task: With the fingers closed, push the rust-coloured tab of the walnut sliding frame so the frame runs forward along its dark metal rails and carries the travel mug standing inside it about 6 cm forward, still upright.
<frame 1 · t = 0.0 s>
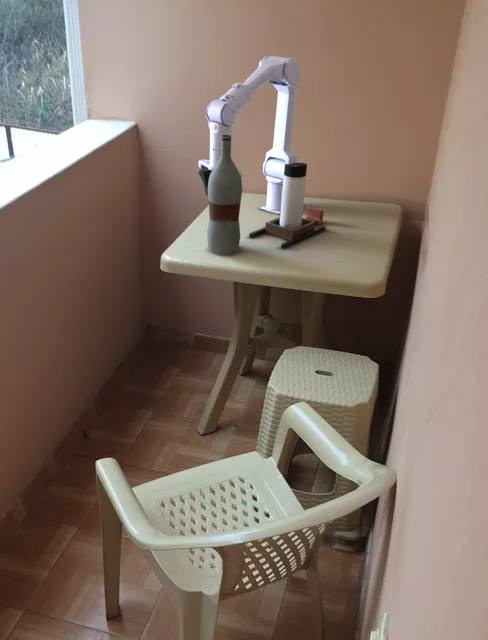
hand: (219, 197, 187), 10 cm above the table, tool pointing down, fingers open, 7 cm apart
bottle: (223, 250, 182), on the table
rails: (287, 233, 191), on the table
travel mug: (290, 233, 192), resting in carrier
carrier: (298, 222, 193), point 2 cm above the table, slide at 0.0 cm
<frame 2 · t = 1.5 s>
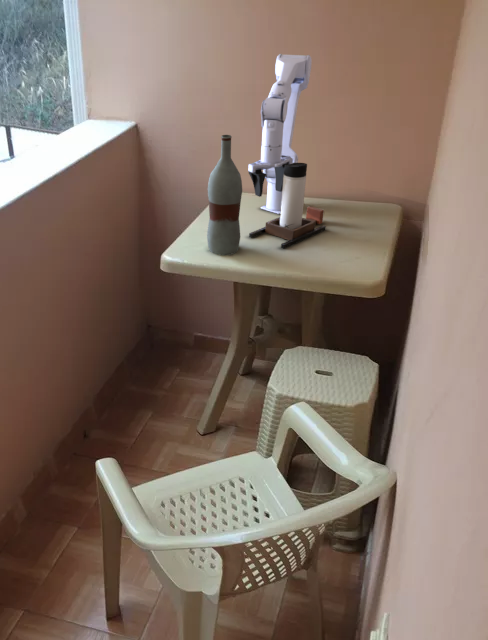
hand: (268, 193, 191), 10 cm above the table, tool pointing down, fingers open, 7 cm apart
nothing on the table moved.
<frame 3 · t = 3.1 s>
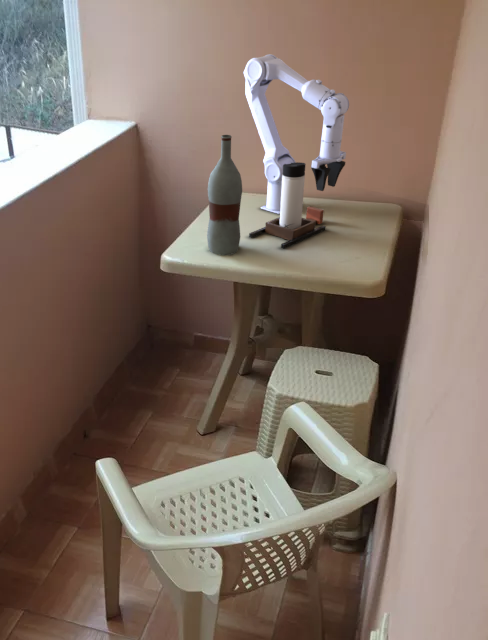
hand: (325, 188, 196), 9 cm above the table, tool pointing down, fingers open, 5 cm apart
nothing on the table moved.
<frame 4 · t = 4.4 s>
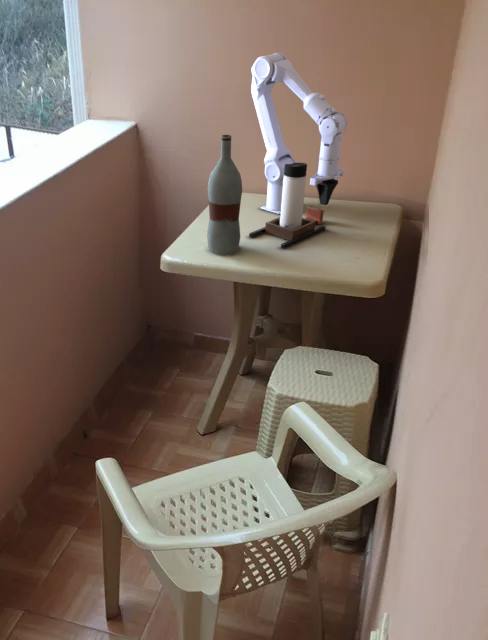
hand: (323, 204, 199), 4 cm above the table, tool pointing down, fingers closed
nothing on the table moved.
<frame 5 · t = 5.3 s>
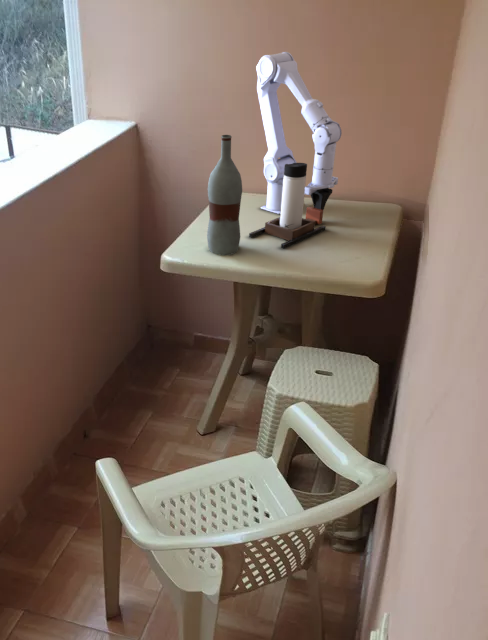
hand: (318, 213, 199), 2 cm above the table, tool pointing down, fingers closed
carrier: (297, 222, 193), point 2 cm above the table, slide at 0.2 cm, touching gripper
everything else where it was.
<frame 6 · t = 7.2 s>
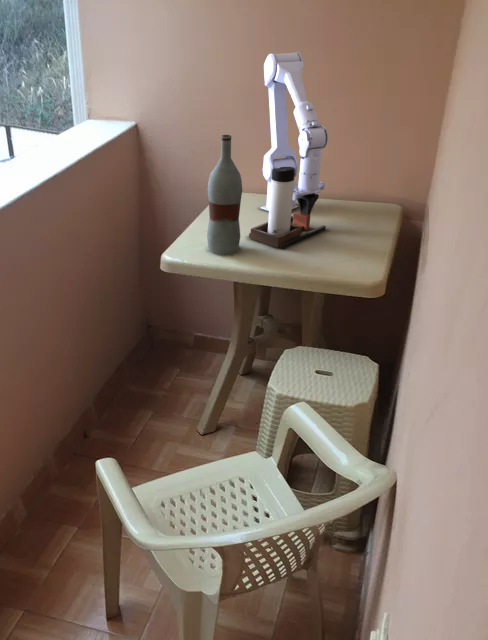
hand: (304, 218, 195), 2 cm above the table, tool pointing down, fingers closed
travel mug: (278, 238, 189), resting in carrier
carrier: (284, 228, 189), point 2 cm above the table, slide at 6.8 cm, touching gripper, travel mug
everything else where it was.
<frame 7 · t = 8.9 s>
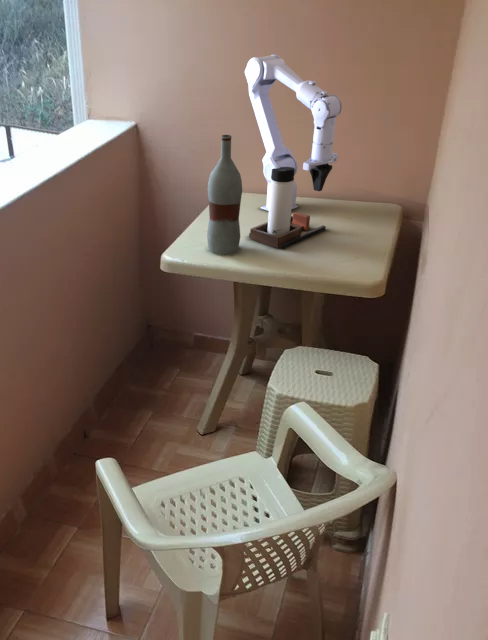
hand: (317, 190, 194), 9 cm above the table, tool pointing down, fingers closed
carrier: (283, 228, 189), point 2 cm above the table, slide at 6.9 cm, touching travel mug
everything else where it was.
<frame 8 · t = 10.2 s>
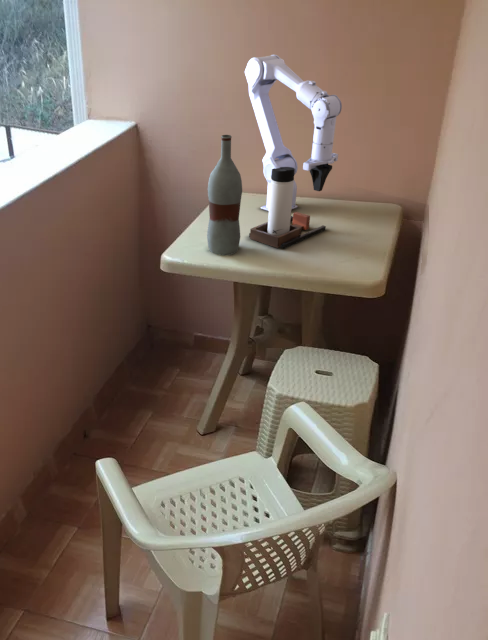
hand: (317, 190, 194), 9 cm above the table, tool pointing down, fingers closed
nothing on the table moved.
at the end: travel mug 1.1 cm from the target spot, resting in carrier; travel mug tilted 0°; carrier slide at 6.9 cm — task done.
